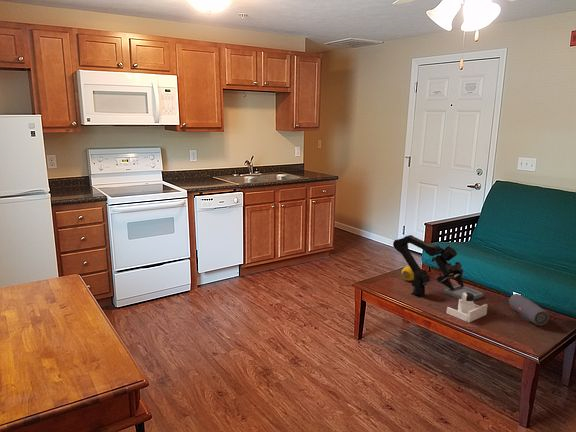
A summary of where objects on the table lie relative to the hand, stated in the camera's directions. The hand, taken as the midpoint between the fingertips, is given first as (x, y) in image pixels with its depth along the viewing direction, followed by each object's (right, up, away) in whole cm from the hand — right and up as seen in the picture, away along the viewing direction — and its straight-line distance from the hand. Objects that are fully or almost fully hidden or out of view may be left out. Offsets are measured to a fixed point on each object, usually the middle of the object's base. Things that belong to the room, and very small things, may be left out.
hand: (458, 288), depth 243 cm
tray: (+12, -8, +24) cm, 28 cm away
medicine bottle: (+3, -14, -2) cm, 15 cm away
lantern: (-13, -2, +49) cm, 51 cm away
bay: (+3, -14, -2) cm, 14 cm away
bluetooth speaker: (+35, -15, -6) cm, 39 cm away
